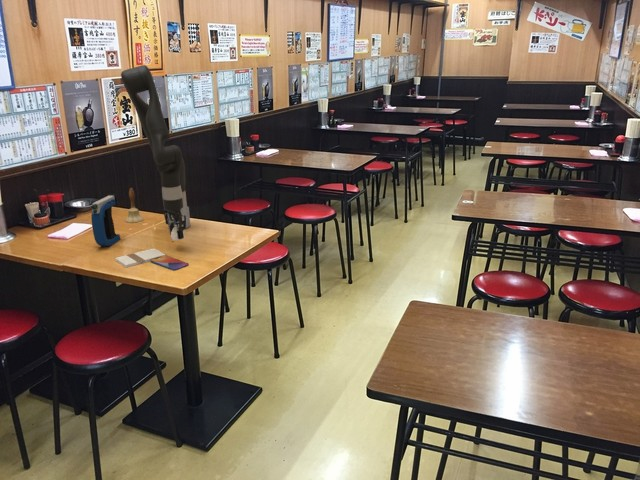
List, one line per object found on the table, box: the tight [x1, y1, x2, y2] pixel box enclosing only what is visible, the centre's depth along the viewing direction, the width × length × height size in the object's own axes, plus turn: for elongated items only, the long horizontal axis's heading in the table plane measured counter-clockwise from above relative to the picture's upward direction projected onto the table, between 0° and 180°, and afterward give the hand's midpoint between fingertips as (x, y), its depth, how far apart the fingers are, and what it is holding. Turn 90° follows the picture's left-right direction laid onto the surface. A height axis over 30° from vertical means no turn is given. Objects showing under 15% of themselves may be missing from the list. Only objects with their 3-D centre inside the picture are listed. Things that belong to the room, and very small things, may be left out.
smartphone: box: [149, 254, 189, 271], centre depth 197 cm, size 7×15×1 cm, turn 53°
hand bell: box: [125, 187, 144, 224], centre depth 247 cm, size 8×8×16 cm
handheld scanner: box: [90, 193, 121, 247], centre depth 215 cm, size 5×16×20 cm, turn 174°
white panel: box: [114, 247, 166, 268], centre depth 201 cm, size 16×10×1 cm, turn 133°
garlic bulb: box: [170, 225, 186, 241], centre depth 209 cm, size 6×6×5 cm
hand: (176, 236), depth 210 cm, fingers closed on garlic bulb, 5 cm apart
